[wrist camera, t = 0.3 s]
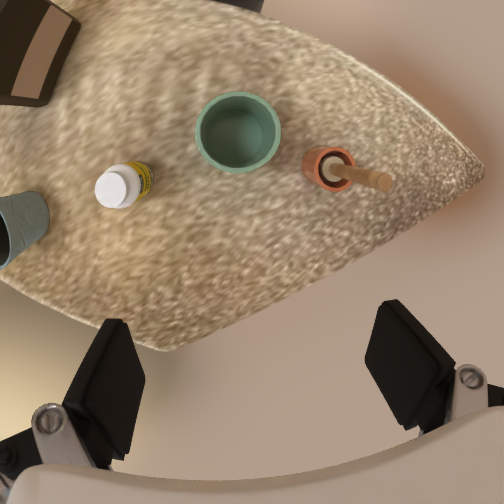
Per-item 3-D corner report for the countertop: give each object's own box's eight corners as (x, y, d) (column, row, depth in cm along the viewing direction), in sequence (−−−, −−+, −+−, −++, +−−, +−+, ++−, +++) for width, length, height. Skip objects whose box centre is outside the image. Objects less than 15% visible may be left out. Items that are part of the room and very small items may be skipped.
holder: (301, 145, 36) (314, 145, 30) (338, 147, 36) (356, 149, 30) (301, 184, 38) (313, 191, 32) (337, 185, 38) (354, 192, 32)
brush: (310, 154, 36) (371, 162, 20) (331, 155, 36) (401, 166, 20) (310, 176, 37) (368, 200, 21) (331, 177, 37) (398, 201, 21)
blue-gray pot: (10, 226, 34) (-30, 249, 23) (22, 175, 32) (-25, 189, 21) (46, 252, 37) (7, 283, 26) (60, 200, 34) (14, 221, 23)
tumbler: (203, 109, 32) (194, 93, 22) (264, 107, 33) (280, 92, 23) (204, 167, 35) (196, 175, 25) (265, 165, 36) (280, 172, 26)
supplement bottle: (160, 188, 36) (139, 202, 27) (128, 204, 36) (101, 222, 27) (145, 154, 34) (120, 157, 25) (113, 171, 34) (81, 180, 25)
